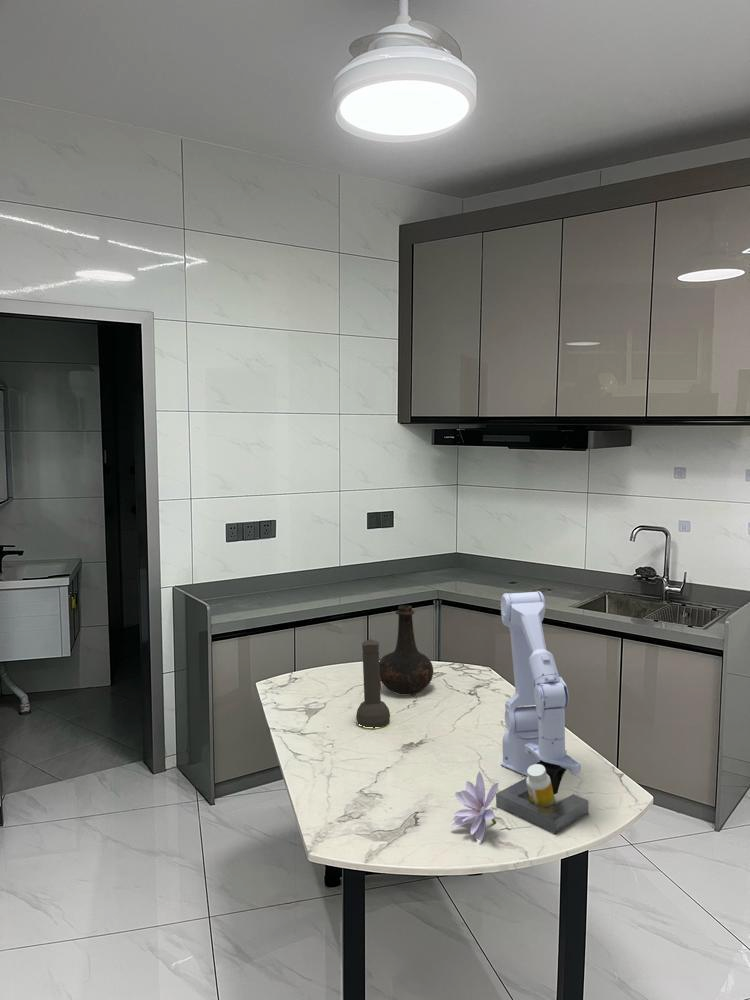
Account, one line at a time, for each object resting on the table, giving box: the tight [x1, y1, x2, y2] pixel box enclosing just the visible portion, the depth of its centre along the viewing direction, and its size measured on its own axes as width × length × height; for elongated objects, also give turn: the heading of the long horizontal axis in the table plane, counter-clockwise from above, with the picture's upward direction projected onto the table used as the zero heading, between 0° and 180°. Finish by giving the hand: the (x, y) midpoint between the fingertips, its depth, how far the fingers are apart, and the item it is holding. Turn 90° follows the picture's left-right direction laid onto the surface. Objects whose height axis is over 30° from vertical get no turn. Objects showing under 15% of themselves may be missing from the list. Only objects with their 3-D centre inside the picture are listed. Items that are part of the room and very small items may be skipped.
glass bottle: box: [379, 604, 434, 695], centre depth 243 cm, size 18×18×28 cm
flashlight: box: [355, 638, 391, 728], centre depth 217 cm, size 10×25×10 cm
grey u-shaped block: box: [495, 777, 590, 835], centre depth 166 cm, size 16×12×3 cm
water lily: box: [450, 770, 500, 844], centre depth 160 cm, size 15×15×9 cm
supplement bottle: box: [526, 764, 556, 809], centre depth 165 cm, size 5×5×10 cm
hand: (552, 793), depth 168 cm, fingers closed, pressing on supplement bottle
